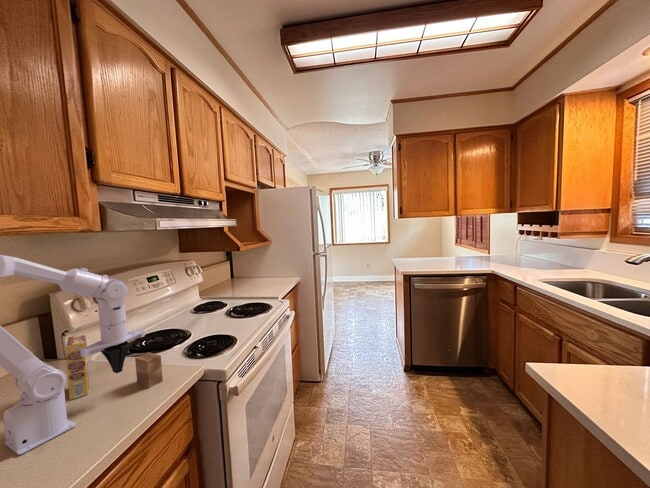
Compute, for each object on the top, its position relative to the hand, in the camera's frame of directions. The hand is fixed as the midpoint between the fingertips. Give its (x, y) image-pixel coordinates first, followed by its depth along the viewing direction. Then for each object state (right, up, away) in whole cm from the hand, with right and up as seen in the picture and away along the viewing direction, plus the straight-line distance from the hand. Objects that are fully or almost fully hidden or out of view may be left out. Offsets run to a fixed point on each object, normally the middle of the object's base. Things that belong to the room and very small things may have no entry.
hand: (117, 371), depth 76 cm
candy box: (-14, -8, +5) cm, 17 cm away
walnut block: (+4, -7, +8) cm, 11 cm away
